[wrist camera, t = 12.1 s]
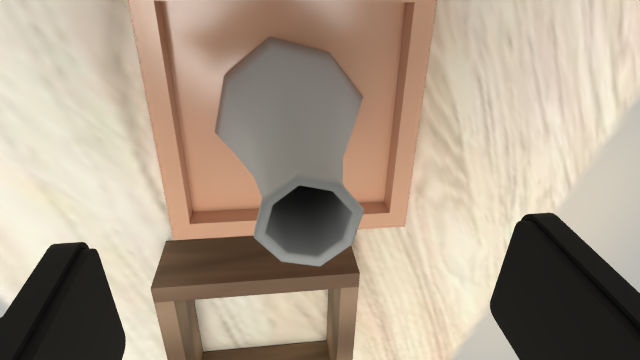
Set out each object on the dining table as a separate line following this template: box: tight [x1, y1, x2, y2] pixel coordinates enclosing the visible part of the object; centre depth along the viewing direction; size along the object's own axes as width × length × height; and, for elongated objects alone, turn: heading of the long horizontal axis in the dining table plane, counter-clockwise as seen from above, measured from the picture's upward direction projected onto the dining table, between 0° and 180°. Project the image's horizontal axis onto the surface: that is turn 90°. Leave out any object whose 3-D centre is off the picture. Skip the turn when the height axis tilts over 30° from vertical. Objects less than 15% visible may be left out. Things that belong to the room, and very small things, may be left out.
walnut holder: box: [151, 236, 360, 360], centre depth 26 cm, size 11×11×4 cm
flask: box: [215, 37, 364, 267], centre depth 17 cm, size 7×7×10 cm
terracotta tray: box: [128, 0, 437, 240], centre depth 21 cm, size 13×13×2 cm
